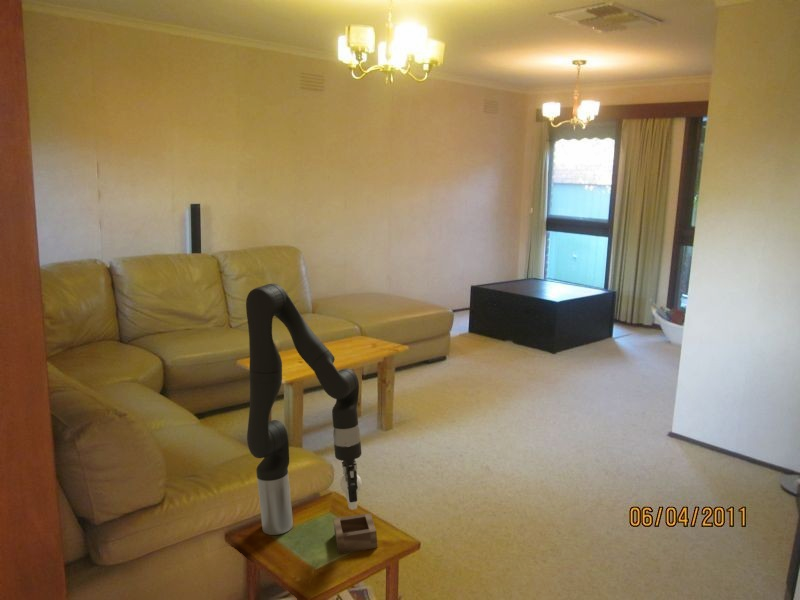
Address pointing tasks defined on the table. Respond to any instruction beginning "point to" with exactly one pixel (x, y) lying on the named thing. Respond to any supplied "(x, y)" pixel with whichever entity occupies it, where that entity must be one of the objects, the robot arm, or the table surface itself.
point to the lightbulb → (344, 488)
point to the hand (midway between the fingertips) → (351, 496)
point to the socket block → (355, 533)
